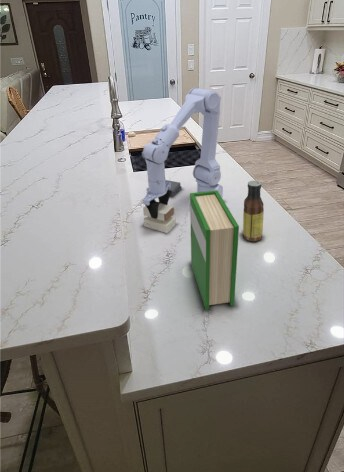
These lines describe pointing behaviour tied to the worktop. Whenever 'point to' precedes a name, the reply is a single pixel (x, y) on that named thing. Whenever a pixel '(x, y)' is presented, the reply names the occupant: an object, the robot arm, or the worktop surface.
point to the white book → (161, 212)
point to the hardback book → (213, 247)
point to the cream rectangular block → (160, 224)
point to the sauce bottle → (253, 213)
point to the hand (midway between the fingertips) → (159, 213)
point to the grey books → (174, 187)
